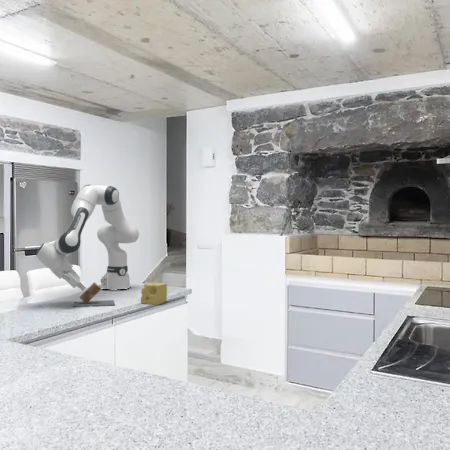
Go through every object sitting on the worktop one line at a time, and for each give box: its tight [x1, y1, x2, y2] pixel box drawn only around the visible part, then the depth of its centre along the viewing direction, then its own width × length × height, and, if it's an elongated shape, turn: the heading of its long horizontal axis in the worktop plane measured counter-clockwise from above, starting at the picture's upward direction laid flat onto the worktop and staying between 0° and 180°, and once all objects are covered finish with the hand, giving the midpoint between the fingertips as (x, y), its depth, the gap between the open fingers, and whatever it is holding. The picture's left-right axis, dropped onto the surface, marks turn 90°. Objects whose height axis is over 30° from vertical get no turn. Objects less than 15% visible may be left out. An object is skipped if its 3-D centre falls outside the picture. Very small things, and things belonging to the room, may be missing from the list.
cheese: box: [140, 281, 168, 306], centre depth 240 cm, size 10×11×10 cm
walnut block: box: [79, 281, 102, 304], centre depth 232 cm, size 4×4×10 cm
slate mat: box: [72, 299, 116, 308], centre depth 233 cm, size 20×12×1 cm, turn 107°
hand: (84, 289), depth 232 cm, fingers closed
